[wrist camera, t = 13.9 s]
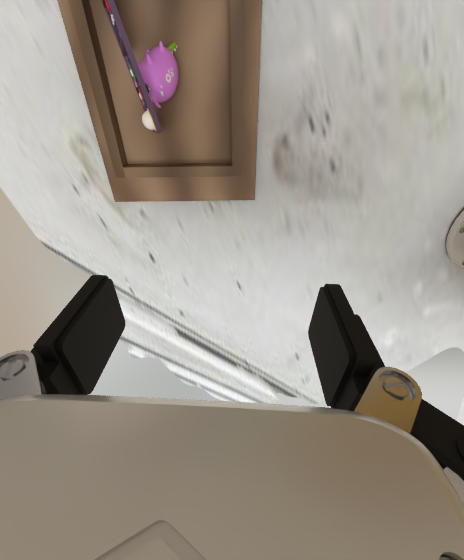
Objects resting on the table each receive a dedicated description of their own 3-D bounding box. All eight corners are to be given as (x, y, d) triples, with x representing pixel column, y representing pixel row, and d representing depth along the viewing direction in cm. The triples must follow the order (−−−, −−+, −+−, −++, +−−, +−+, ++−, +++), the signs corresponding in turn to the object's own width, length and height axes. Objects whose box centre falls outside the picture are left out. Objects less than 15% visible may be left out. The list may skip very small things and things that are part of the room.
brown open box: (263, -81, 19) (267, -104, 16) (254, 196, 30) (255, 204, 28) (43, -75, 19) (18, -97, 17) (118, 198, 31) (110, 206, 29)
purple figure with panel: (79, -37, 15) (148, 136, 20) (165, -58, 15) (211, 115, 21) (93, 6, 20) (145, 133, 25) (156, -11, 21) (194, 117, 26)
